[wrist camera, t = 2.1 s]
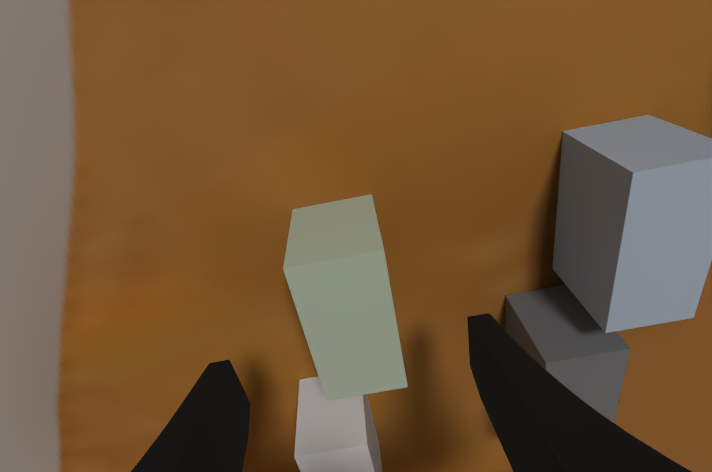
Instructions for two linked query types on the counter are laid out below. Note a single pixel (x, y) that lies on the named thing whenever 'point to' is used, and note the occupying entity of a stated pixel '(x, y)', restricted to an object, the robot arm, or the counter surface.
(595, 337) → the charcoal brick
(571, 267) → the blue brick
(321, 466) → the grey brick
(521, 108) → the counter surface
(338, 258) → the sage brick
